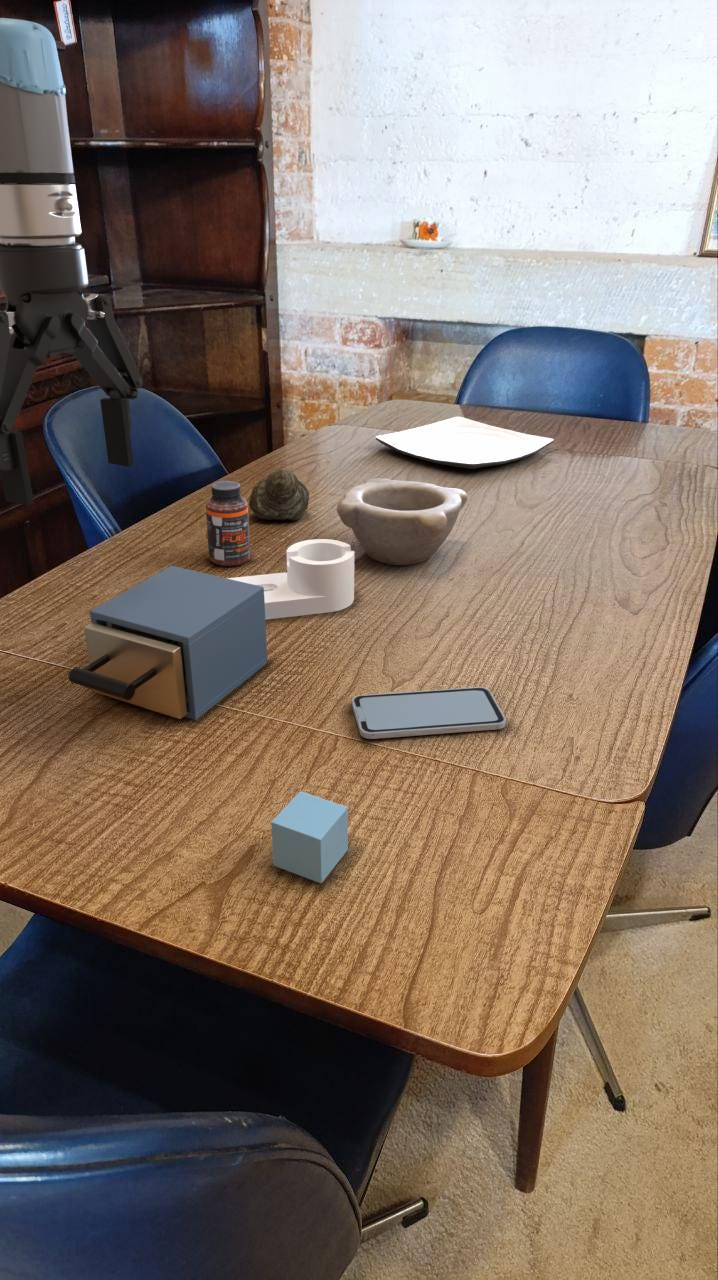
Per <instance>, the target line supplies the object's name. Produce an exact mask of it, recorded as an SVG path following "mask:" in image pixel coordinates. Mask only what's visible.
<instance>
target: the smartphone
mask: <svg viewBox="0 0 718 1280" xmlns="http://www.w3.org/2000/svg"><path fill="white" fill-rule="evenodd" d="M351 708H352V712H353V715H354V718H355V722H356V725H357V728H358V732H359V735H360V736H361V737H362V738H364V739H367V740H373V739H375V740H376V739H377V740H378V739H387V738H388V739H389V738H400V737H401V738H402V737H403V738H404V737H415V736H427V735H429V736H430V735H442V734H457V733H466V732H468V733H469V732H481V731H493V730H502V729H503V728H505V727H506V722H507V721H506V720H507V718H506V716H505V715H504V713H503V710H502V709H501V708H500V705H499V704H498V701H497V699H495V696H494V694H493V693H492V691H491V690H490V689H489V688H487V687H484V686H473V687H472V686H471V687H459V688H458V687H457V688H444V689H429V690H427V689H426V690H414V691H400V692H385V693H370V694H368V693H367V694H358V695H355V696H353V697H352V699H351Z"/></svg>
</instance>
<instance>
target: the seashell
mask: <svg viewBox="0 0 718 1280" xmlns="http://www.w3.org/2000/svg"><path fill="white" fill-rule="evenodd" d="M309 500H310V491H309V489H308V488H307V486H306V484H305V483H303V482H302V480H299V479H298V477H297V476H296V474H295V473H293V472H292V471H291V470H287V469H278V470H276V471H273V472H271V473H270V474H269V475H267V477H266V479H265V478H264V479H263V480H260V481H258V482H257V484H256V485H255V486H253V487H252V490H251V494H250V498H249V502H248V507H249V509H250V510H251V511H252V512H253V514H255V515H256V517H257V518H259V519H260V520H266V521H267V520H270V521H271V520H277V521H285V520H289V521H291V522H294V521H298V520H301V519H302V518H303V517H304V516H305V513H306V511H307V510H308V507H309V503H310V501H309Z"/></svg>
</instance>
